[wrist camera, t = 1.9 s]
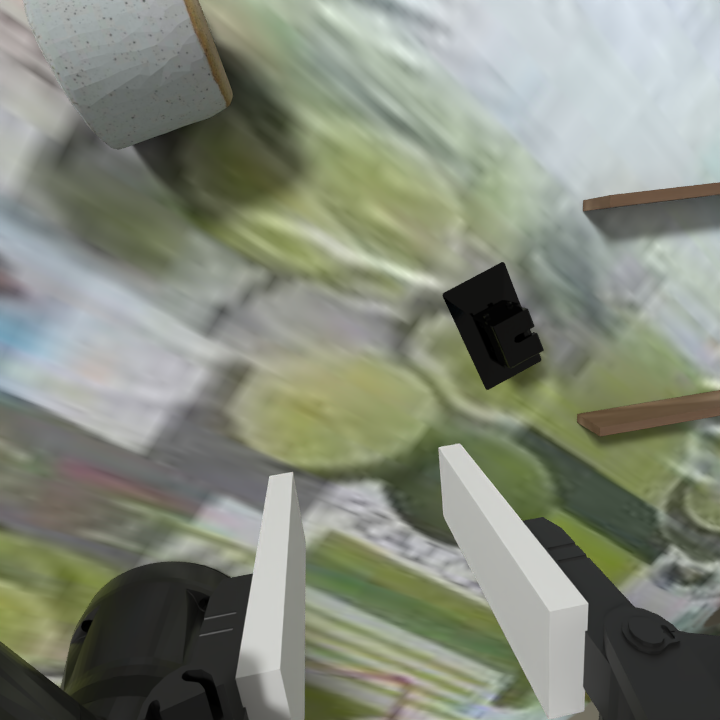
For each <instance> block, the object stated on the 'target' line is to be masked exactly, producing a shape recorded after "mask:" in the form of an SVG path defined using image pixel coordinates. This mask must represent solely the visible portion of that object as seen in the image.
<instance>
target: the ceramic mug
mask: <svg viewBox="0 0 720 720" xmlns="http://www.w3.org/2000/svg"><path fill="white" fill-rule="evenodd" d="M23 3H24V8H25V12H26V16H27V19H28V22H29V25H30V27H31V29H32V31H33V34H34V36H35V39H36V41H37V43H38V45H39V47H40V49H41V51H42V53H43V55H44V57H45V59H46V61H47V62H48V64H49V66H50V68H51V70H52V72H53V74H54V76H55V77H56V79H57V81H58V83H59V84H60V86H61V88H62V90H63V91H64V93H65V95H66V96H67V98H68V99H69V101H70V102H71V104H72V105H73V106H74V108H75V109H76V110H77V111H78V113H79V114H80V115H81V116H82V118H83V119H84V121H85V122H86V124H87V125H88V126H89V127H90V129H91V130H92V131H93V132H94V133H95V134H96V135H97V136H98V137H99V138H100V139H101V140H102V141H104V142H105V143H106V144H107V145H108V146H110V147H111V148H114V149H122V148H125V147H128V146H131V145H134V144H137V143H140V142H142V141H145V140H148V139H151V138H153V137H156V136H159V135H162V134H165V133H168V132H170V131H173V130H175V129H178V128H180V127H183V126H186V125H189V124H192V123H195V122H199V121H202V120H205V119H207V118H210V117H212V116H214V115H216V114H217V113H219V112H221V111H222V110H224V109H225V108H227V107H228V106H229V105H230V103H231V100H232V98H233V92H232V89H231V86H230V84H229V81H228V78H227V76H226V73H225V70H224V67H223V65H222V62H221V59H220V57H219V54H218V51H217V49H216V46H215V43H214V41H213V38H212V36H211V33H210V30H209V27H208V24H207V22H206V19H205V16H204V14H203V11H202V8H201V6H200V3H199V1H198V0H23Z"/></svg>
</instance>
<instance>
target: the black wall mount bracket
mask: <svg viewBox="0 0 720 720" xmlns="http://www.w3.org/2000/svg"><path fill="white" fill-rule="evenodd" d="M443 298H444V300H445V302H446V304H447V306H448V309H449V311H450V313H451V315H452V317H453V319H454V322H455V324H456V326H457V328H458V330H459V332H460V335H461V337H462V339H463V341H464V343H465V345H466V347H467V350H468V352H469V354H470V356H471V358H472V360H473V363H474V365H475V367H476V369H477V371H478V373H479V375H480V378H481V380H482V382H483V384H484V386H485V388H486V390H489V389H490V388H492V387H494V386H496V385H498V384H500V383H501V382H503V381H505V380H507V379H509V378H511V377H512V376H514V375H516V374H518V373H520V372H522V371H523V370H525V369H527V368H529V367H531V366H532V365H534V364H536V363H538V362H540V361H541V357H540V354H539V353H540V352H542V351H544V349H543V347H542V344H541V342H540V339H539V336H538V334H537V333H535V332H533V333H531V331H530V329H531V328H533V327H534V324H533V321H532V318H531V316H530V313H529V311H528V309H527V308H523V307H521V305H520V302H519V300H518V297H517V294H516V292H515V289H514V287H513V284H512V282H511V279H510V276H509V274H508V271H507V269H506V266H505V263H504V262H501V263H499V264H498V265H496V266H494V267H492V268H490V269H488V270H486V271H484V272H482V273H481V274H479V275H477V276H475V277H473V278H471V279H469V280H467V281H465V282H464V283H462V284H460V285H458V286H456V287H454V288H452V289H450V290H448V291H447V292H445V293H443Z"/></svg>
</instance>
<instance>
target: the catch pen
mask: <svg viewBox="0 0 720 720" xmlns="http://www.w3.org/2000/svg"><path fill="white" fill-rule="evenodd" d="M714 195H720V182H719V183H711V184H702V185H694V186H685V187H676V188H668V189H659V190H651V191H642V192H634V193H625V194H617V195H609V196H604V197H598V198H593V199H588V200H583V211H588V210H597V209H605V208H613V207H622V206H630V205H638V204H647V203H655V202H663V201H672V200H680V199H688V198H697V197H705V196H714ZM715 416H720V390H718V391H712V392H706V393H700V394H694V395H688V396H682V397H676V398H671V399H665V400H659V401H653V402H647V403H641V404H635V405H629V406H623V407H617V408H611V409H605V410H599V411H593V412H587V413H581V414H577V422H578V423H579V424H581V425H582V426H584V427H586V428H587V429H589V430H590V431H592V432H594V433H595V434H597V435H598V436H605V435H611V434H617V433H623V432H628V431H634V430H640V429H646V428H651V427H657V426H663V425H669V424H674V423H680V422H686V421H692V420H698V419H703V418H709V417H715Z"/></svg>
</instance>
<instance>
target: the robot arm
mask: <svg viewBox="0 0 720 720" xmlns="http://www.w3.org/2000/svg"><path fill="white" fill-rule="evenodd" d="M439 461H440V475H441V488H442V502H443V516H444V518H445V520H446V522H447V524H448V526H449V528H450V530H451V532H452V534H453V536H454V538H455V540H456V542H457V543H458V545H459V547H460V549H461V551H462V553H463V555H464V557H465V559H466V561H467V563H468V565H469V567H470V569H471V570H472V572H473V574H474V576H475V578H476V580H477V582H478V584H479V586H480V588H481V590H482V592H483V594H484V596H485V598H486V599H487V601H488V603H489V605H490V607H491V609H492V611H493V613H494V615H495V617H496V619H497V621H498V623H499V625H500V626H501V628H502V630H503V632H504V634H505V636H506V638H507V640H508V642H509V644H510V646H511V648H512V650H513V652H514V654H515V655H516V657H517V659H518V661H519V663H520V665H521V667H522V669H523V671H524V673H525V675H526V677H527V679H528V681H529V682H530V684H531V686H532V688H533V690H534V692H535V694H536V696H537V698H538V700H539V702H540V704H541V706H542V708H543V710H544V711H545V713H546V715H547V717H548V719H553V718H557V717H561V716H566V715H570V714H574V713H578V712H582V711H584V700H585V691H586V692H587V694H588V695H589V697H590V699H591V700H592V702H593V703H594V705H595V706H596V708H597V709H598V711H599V720H720V636H714V635H704V634H694V633H687V632H682V631H678V630H677V629H676V628H675V626H674V625H672V624H671V623H669V622H668V621H666V620H665V619H664V618H662V617H661V616H659V615H657V614H655V613H652V612H650V611H647V610H645V609H642V608H635V607H634V606H633V605H632V604H631V603H630V602H629V601H628V600H627V598H626V597H625V596H624V595H623V594H622V593H621V592H620V591H619V590H618V589H617V588H616V587H615V585H614V584H613V583H612V582H611V581H610V580H609V579H608V578H607V577H606V576H605V575H604V574H603V572H602V571H601V570H600V569H599V568H598V567H597V566H596V565H595V564H594V563H593V562H592V561H591V559H590V558H587V557H586V554H585V553H584V552H583V551H582V550H581V549H580V548H579V547H578V545H577V546H576V545H575V542H574V541H573V540H572V539H571V538H570V537H569V536H568V535H567V534H566V532H565V531H564V530H563V529H562V528H560V527H559V526H557V525H555V524H554V523H552V522H550V521H549V520H547V519H545V518H544V517H541V518H536V519H530V520H525V521H522V520H521V519H520V518H519V516H518V515H517V514H516V513H515V511H514V510H513V509H512V508H511V506H510V505H509V504H508V503H507V501H506V500H505V499H504V498H503V496H502V495H501V494H500V493H499V491H498V490H497V489H496V488H495V486H494V485H493V484H492V483H491V481H490V480H489V479H488V478H487V477H486V475H485V474H484V473H483V472H482V470H481V469H480V468H479V467H478V465H477V464H476V463H475V462H474V460H473V459H472V458H471V457H470V455H469V454H468V453H467V452H466V450H465V449H464V448H463V447H462V445H461V444H455V445H449V446H444V447H439ZM305 553H306V542H305V536H304V531H303V525H302V520H301V514H300V509H299V503H298V498H297V492H296V487H295V481H294V476H293V472H290V473H284V474H279V475H273V476H269V482H268V488H267V494H266V500H265V506H264V512H263V518H262V524H261V530H260V535H259V541H258V547H257V553H256V559H255V565H254V571H253V574H248V575H243V576H238V577H232V578H228V577H227V576H225V575H223V574H221V573H219V572H218V571H215V570H213V569H210V568H208V567H204V566H201V565H197V564H192V563H185V562H160V563H153V564H148V565H144V566H140V567H137V568H134V569H131V570H129V571H127V572H125V573H123V574H121V575H119V576H117V577H116V578H114V579H113V580H111V581H110V582H108V583H107V584H106V585H105V586H104V587H103V588H102V589H101V590H100V591H99V592H98V593H97V594H96V595H95V597H94V598H93V599H92V601H91V603H90V604H89V606H88V607H87V609H86V611H85V612H84V614H83V615H82V617H81V619H80V620H79V622H78V624H77V626H76V628H75V631H74V633H73V636H72V639H71V643H70V647H69V652H68V656H67V661H66V665H65V670H64V674H63V679H62V683H61V688H59V687H58V686H57V685H55V684H54V683H53V682H52V681H50V680H49V679H48V678H46V677H45V676H44V675H43V674H41V673H40V672H39V671H38V670H36V669H35V668H34V667H32V666H31V665H30V664H29V663H27V662H26V661H25V660H23V659H22V658H21V657H20V656H18V655H17V654H16V653H14V652H13V651H12V650H11V649H9V648H8V647H7V646H6V645H4V644H3V643H2V642H0V720H305Z"/></svg>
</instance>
